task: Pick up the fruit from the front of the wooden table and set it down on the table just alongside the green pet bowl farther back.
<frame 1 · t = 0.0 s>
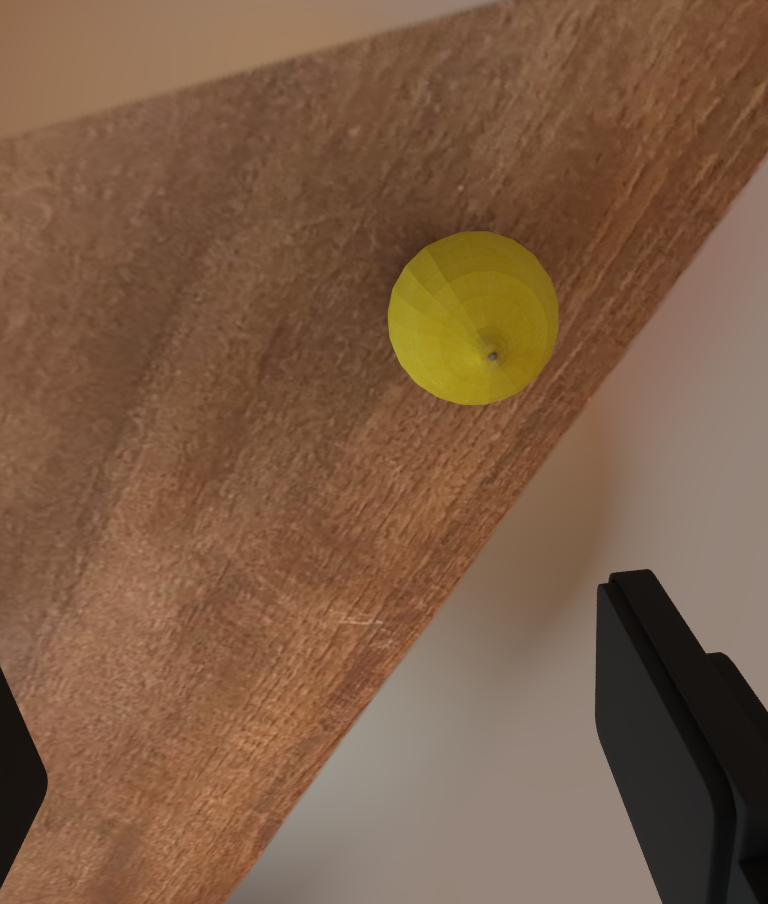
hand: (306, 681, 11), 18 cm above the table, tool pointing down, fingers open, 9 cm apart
fruit: (457, 293, 27), on the table
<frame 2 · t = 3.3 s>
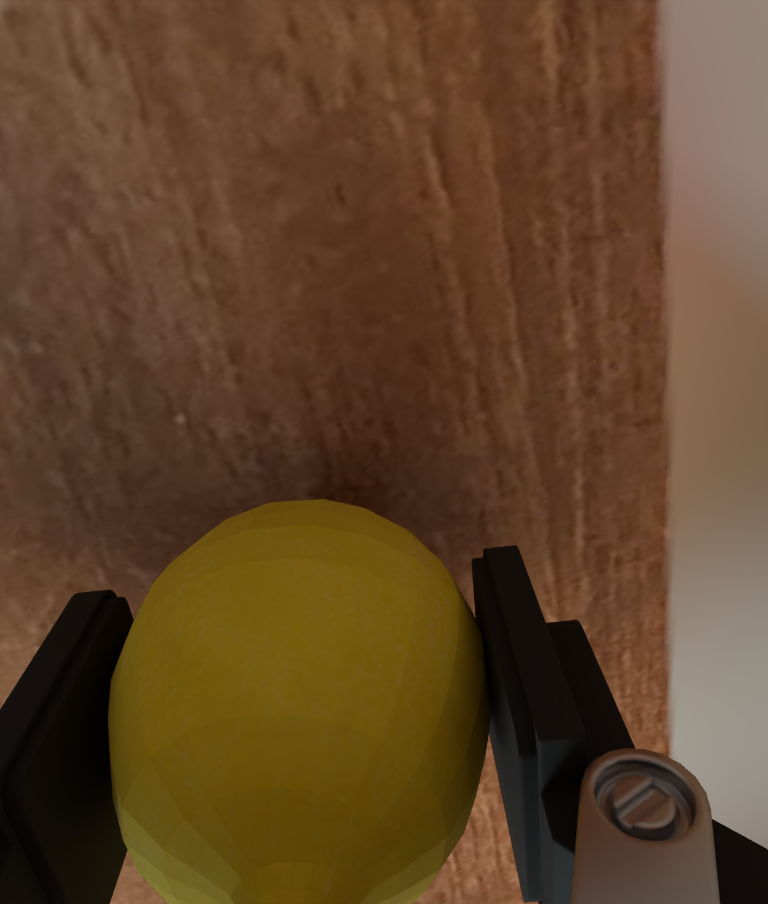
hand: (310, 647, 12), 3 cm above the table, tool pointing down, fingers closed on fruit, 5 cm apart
fruit: (321, 545, 14), on the table, touching gripper
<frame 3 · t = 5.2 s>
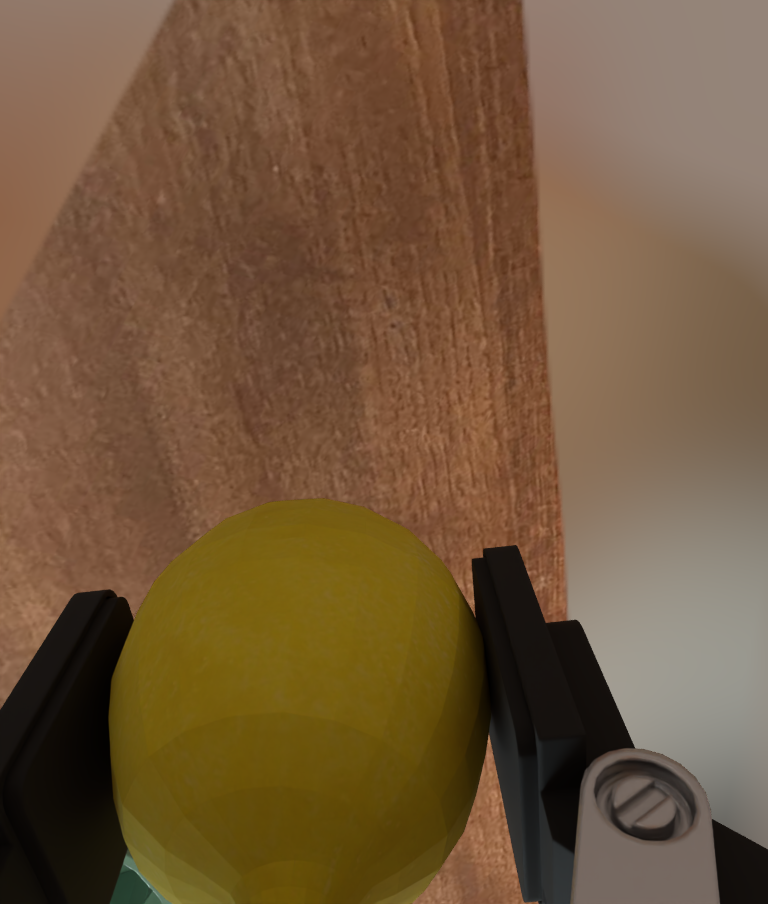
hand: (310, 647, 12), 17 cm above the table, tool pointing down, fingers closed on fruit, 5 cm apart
green pet bowl: (82, 807, 37), on the table
fruit: (321, 544, 14), point 14 cm above the table, touching gripper
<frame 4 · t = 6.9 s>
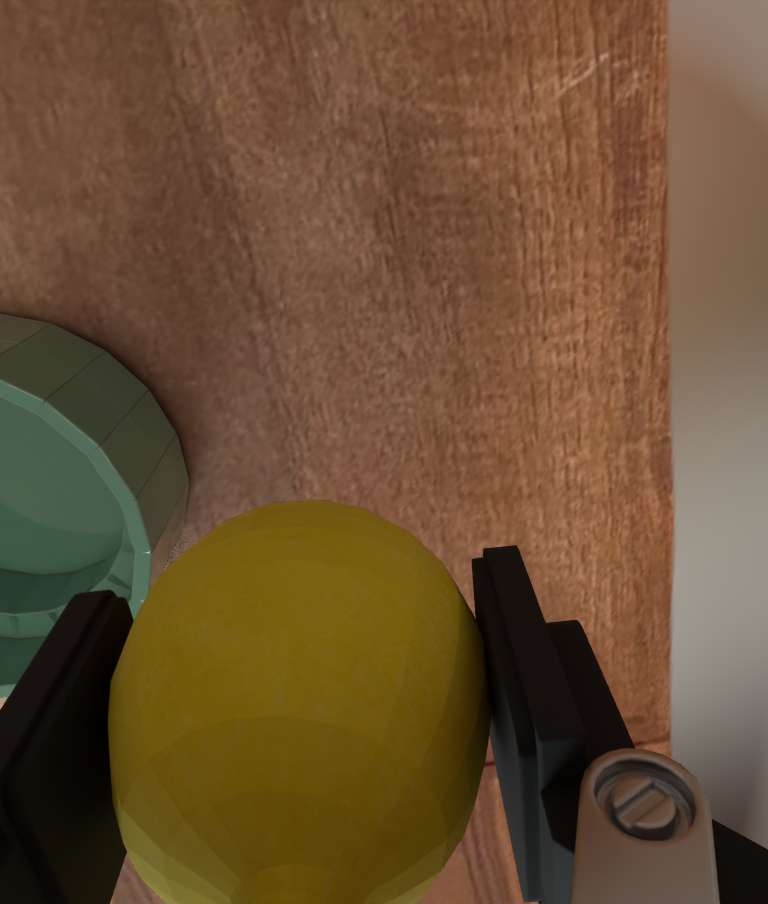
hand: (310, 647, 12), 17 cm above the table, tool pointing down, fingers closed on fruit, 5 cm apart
green pet bowl: (29, 469, 29), on the table
fruit: (321, 546, 14), point 14 cm above the table, touching gripper
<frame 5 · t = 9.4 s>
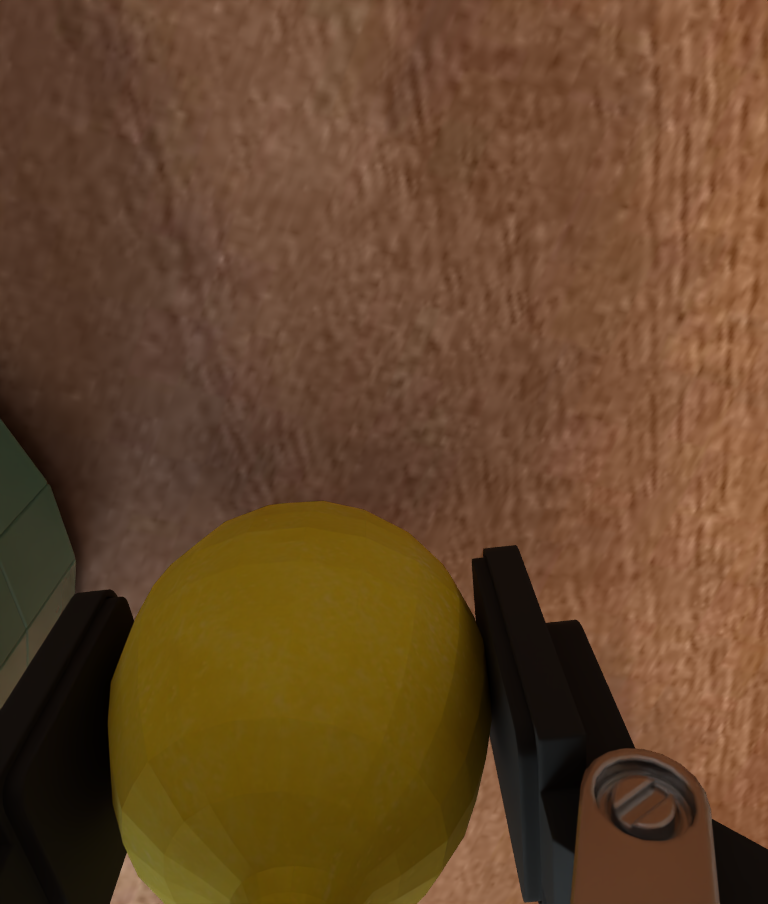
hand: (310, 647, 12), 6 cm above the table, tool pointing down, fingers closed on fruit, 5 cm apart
fruit: (321, 547, 14), point 3 cm above the table, touching gripper
when the fingers open (3 cm above the table, at t = 10.8 s): fruit stays where it is, on the table.
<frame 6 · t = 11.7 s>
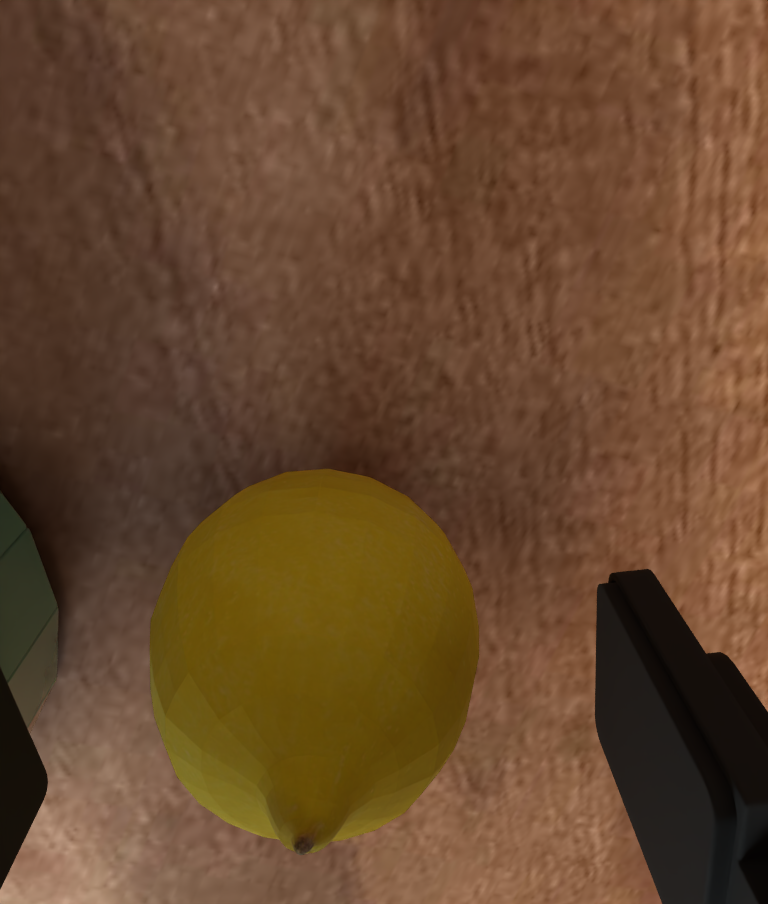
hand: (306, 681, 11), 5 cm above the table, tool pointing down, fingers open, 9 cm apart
fruit: (330, 518, 16), on the table
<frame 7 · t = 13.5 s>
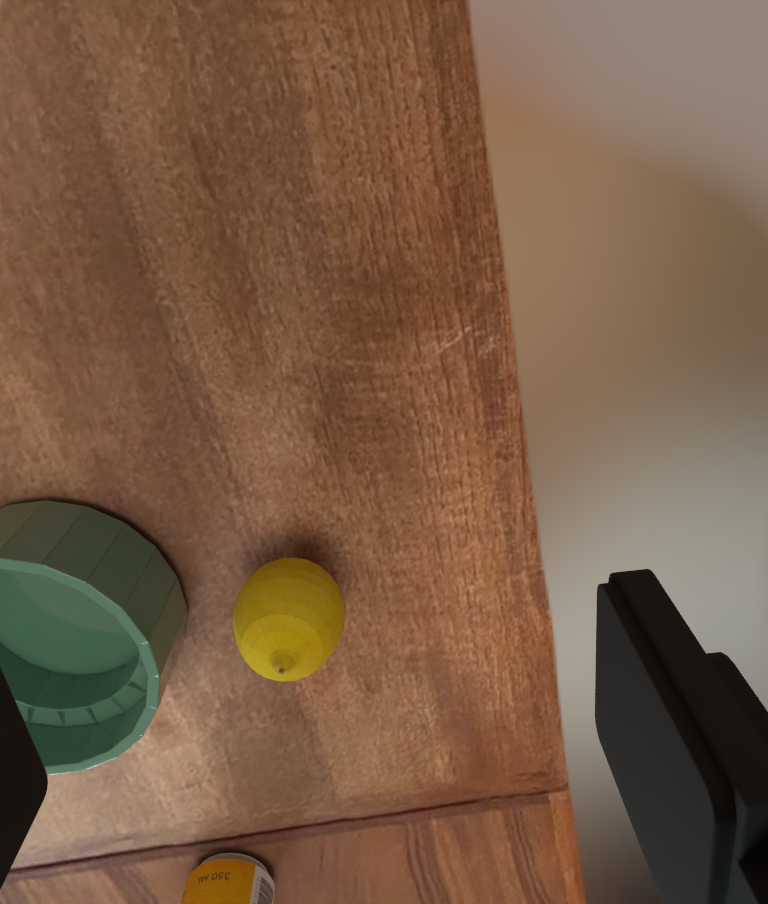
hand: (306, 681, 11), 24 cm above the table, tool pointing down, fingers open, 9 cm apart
green pet bowl: (70, 601, 39), on the table
fruit: (297, 570, 39), on the table
beer can: (233, 874, 49), on the table
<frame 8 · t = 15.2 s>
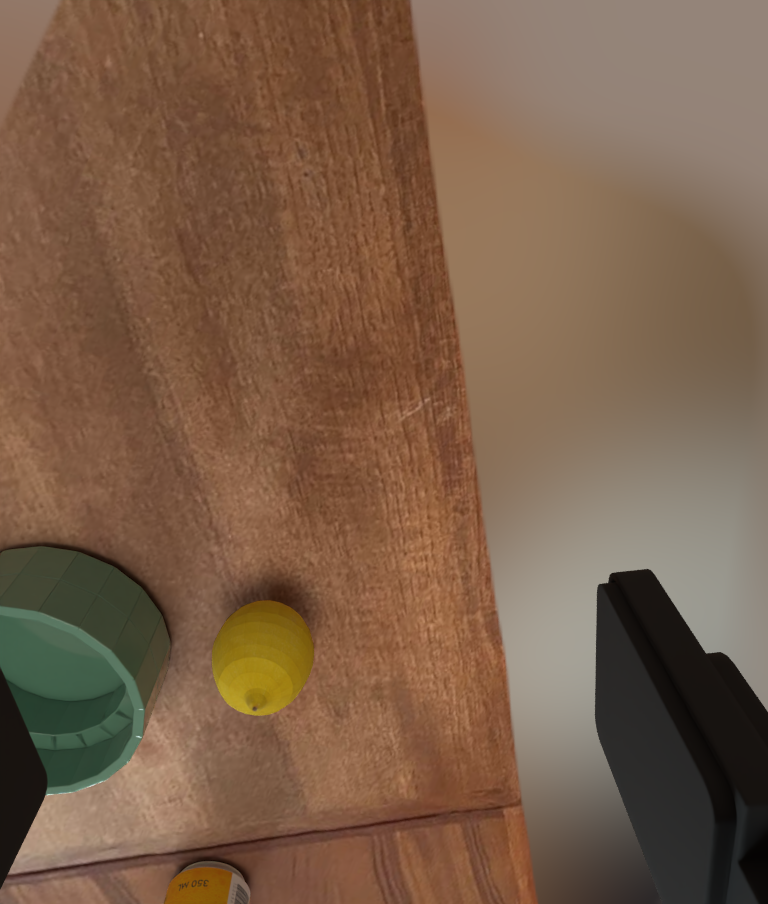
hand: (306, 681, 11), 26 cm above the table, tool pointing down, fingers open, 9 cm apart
green pet bowl: (62, 634, 43), on the table
fruit: (272, 609, 43), on the table
beer can: (212, 880, 53), on the table
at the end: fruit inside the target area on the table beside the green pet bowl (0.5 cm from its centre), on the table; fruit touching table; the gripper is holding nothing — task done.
